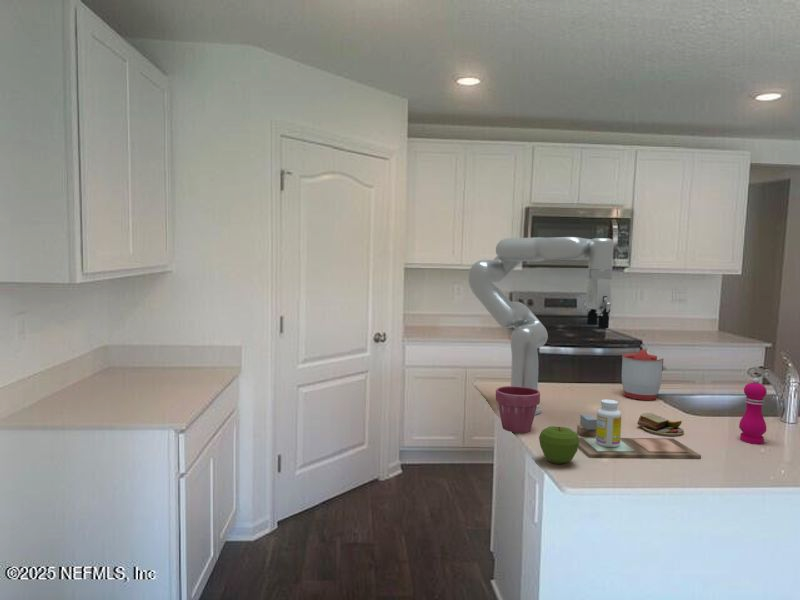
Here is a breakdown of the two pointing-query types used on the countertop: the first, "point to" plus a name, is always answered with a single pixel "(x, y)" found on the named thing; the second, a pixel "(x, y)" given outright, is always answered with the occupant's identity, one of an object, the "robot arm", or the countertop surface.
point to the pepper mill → (753, 413)
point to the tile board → (638, 449)
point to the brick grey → (588, 422)
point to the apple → (558, 444)
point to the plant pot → (517, 407)
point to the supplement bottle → (608, 424)
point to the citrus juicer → (641, 375)
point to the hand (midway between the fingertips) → (597, 326)
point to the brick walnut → (586, 431)
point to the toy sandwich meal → (659, 425)
